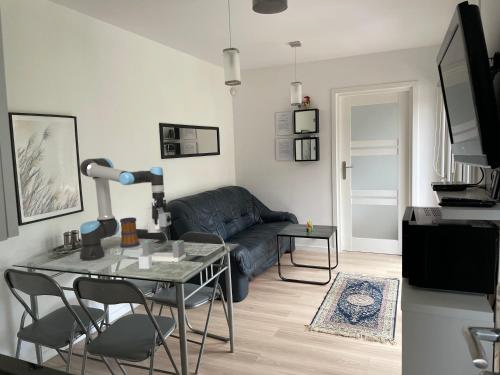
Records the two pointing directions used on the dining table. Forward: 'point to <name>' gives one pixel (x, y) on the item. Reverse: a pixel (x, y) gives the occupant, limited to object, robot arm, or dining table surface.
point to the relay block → (145, 261)
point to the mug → (128, 233)
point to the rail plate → (175, 256)
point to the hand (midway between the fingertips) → (160, 227)
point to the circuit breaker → (163, 220)
